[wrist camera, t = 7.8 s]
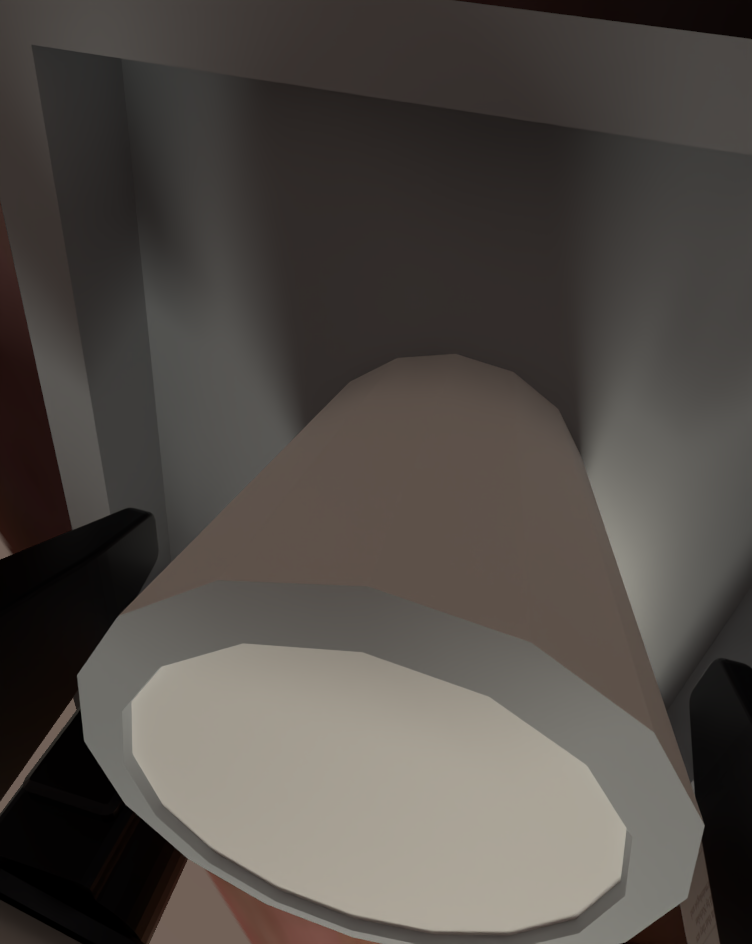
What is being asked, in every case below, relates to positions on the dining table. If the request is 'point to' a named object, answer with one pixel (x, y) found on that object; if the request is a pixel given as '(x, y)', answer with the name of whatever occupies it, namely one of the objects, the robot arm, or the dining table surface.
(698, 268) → the tray
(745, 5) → the dining table surface
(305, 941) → the dining table surface
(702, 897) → the supplement box
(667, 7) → the dining table surface
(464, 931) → the white cup
